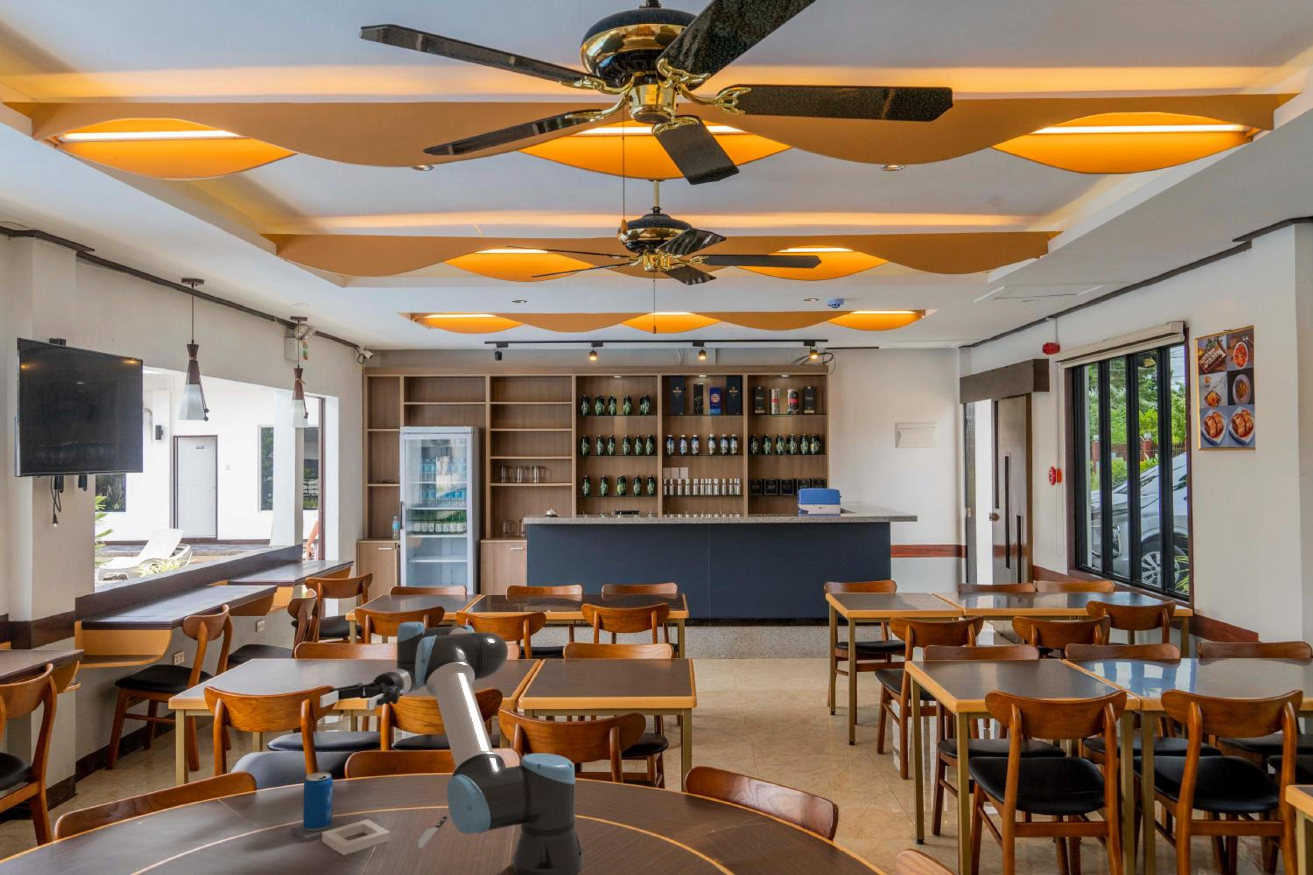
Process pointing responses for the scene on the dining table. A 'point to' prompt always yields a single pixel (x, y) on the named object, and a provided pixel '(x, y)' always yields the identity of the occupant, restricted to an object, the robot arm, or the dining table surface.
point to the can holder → (346, 847)
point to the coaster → (312, 832)
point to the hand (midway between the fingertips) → (344, 703)
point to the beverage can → (318, 801)
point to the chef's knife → (430, 833)
